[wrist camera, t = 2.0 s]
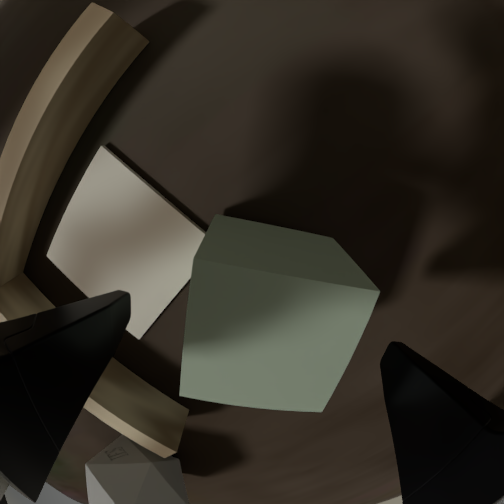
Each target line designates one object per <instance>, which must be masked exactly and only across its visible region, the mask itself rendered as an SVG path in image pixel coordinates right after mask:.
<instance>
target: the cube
mask: <svg viewBox="0 0 504 504" xmlns="http://www.w3.org/2000/svg"><path fill="white" fill-rule="evenodd" d="M379 294H380V290H379V289H378V288H377V287H376V286H375V285H374V283H373V282H372V281H371V280H370V279H369V278H368V277H367V275H366V274H365V273H364V272H363V271H362V270H361V269H360V267H359V266H358V265H357V264H356V263H355V262H354V261H353V260H352V258H351V257H350V256H349V255H348V254H347V253H346V252H345V251H344V250H343V248H342V247H341V246H340V245H339V244H338V243H337V242H336V241H335V240H334V239H333V238H331V237H326V236H322V235H317V234H313V233H308V232H303V231H298V230H294V229H289V228H284V227H279V226H274V225H269V224H264V223H259V222H254V221H249V220H244V219H239V218H233V217H228V216H223V215H217V214H215V216H214V218H213V220H212V222H211V224H210V226H209V228H208V230H207V232H206V234H205V236H204V238H203V240H202V242H201V244H200V246H199V248H198V250H197V252H196V254H195V256H194V258H193V265H192V273H191V280H190V288H189V296H188V305H187V314H186V323H185V333H184V343H183V354H182V366H181V379H180V393H179V396H183V397H188V398H193V399H198V400H204V401H210V402H216V403H222V404H229V405H236V406H244V407H253V408H262V409H273V410H286V411H305V412H322V411H323V409H324V408H325V406H326V404H327V402H328V401H329V399H330V397H331V395H332V393H333V392H334V390H335V388H336V386H337V384H338V382H339V380H340V379H341V377H342V375H343V373H344V371H345V369H346V367H347V365H348V363H349V361H350V359H351V357H352V355H353V353H354V351H355V349H356V347H357V344H358V342H359V340H360V338H361V336H362V334H363V331H364V329H365V327H366V325H367V322H368V320H369V318H370V315H371V313H372V311H373V308H374V306H375V304H376V301H377V299H378V296H379Z"/></svg>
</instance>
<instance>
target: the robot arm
mask: <svg viewBox="0 0 504 504" xmlns="http://www.w3.org/2000/svg"><path fill="white" fill-rule="evenodd" d="M130 318H131V295H130V293H129V292H126V291H122V290H116V291H113V292H109V293H105V294H102V295H98V296H95V297H91V298H88V299H84V300H81V301H77V302H74V303H70V304H67V305H63V306H60V307H56V308H53V309H49V310H46V311H42V312H39V313H37V314H36V313H35V314H32V315H28V316H24V317H21V318H17V319H13V320H8V321H4V322H0V504H7V501H6V498H5V495H4V493H5V491H6V490H7V487H8V486H9V485H10V486H11V487H13V488H14V489H15V490H17V491H18V492H20V493H21V494H23V495H24V496H25V497H27V498H28V499H30V500H31V501H33V502H36V501H37V499H38V497H39V494H40V492H41V490H42V488H43V485H44V483H45V481H46V479H47V477H48V475H49V473H50V471H51V469H52V466H53V464H54V462H55V460H56V458H57V456H58V454H59V452H60V450H61V448H62V446H63V444H64V442H65V440H66V438H67V436H68V434H69V432H70V431H71V429H72V427H73V425H74V423H75V421H76V419H77V418H78V416H79V414H80V412H81V410H82V408H83V407H84V405H85V403H86V401H87V399H88V398H89V396H90V394H91V392H92V391H93V389H94V387H95V385H96V384H97V382H98V380H99V379H100V377H101V375H102V374H103V372H104V370H105V368H106V367H107V365H108V363H109V362H110V360H111V358H112V357H113V355H114V353H115V351H116V349H117V347H118V345H119V342H120V340H121V338H122V336H123V334H124V331H125V329H126V327H127V325H128V323H129V321H130ZM380 368H381V375H382V383H383V391H384V398H385V404H386V409H387V413H388V418H389V422H390V427H391V432H392V437H393V443H394V448H395V454H396V459H397V465H398V472H399V479H400V486H401V493H402V500H403V504H504V410H503V409H501V408H499V407H498V406H496V405H494V404H493V403H491V402H489V401H488V400H486V399H485V398H483V397H482V396H480V395H479V394H477V393H476V392H474V391H473V390H471V389H470V388H468V387H467V386H465V385H464V384H462V383H461V382H459V381H458V380H456V379H455V378H454V377H452V376H451V375H449V374H448V373H446V372H445V371H443V370H442V369H440V368H439V367H437V366H436V365H434V364H433V363H431V362H430V361H429V360H427V359H426V358H424V357H423V356H421V355H420V354H418V353H417V352H415V351H414V350H412V349H411V348H409V347H408V346H406V345H405V344H403V343H402V342H395V341H392V342H391V343H390V344H389V345H388V347H387V349H386V351H385V353H384V355H383V357H382V359H381V362H380Z"/></svg>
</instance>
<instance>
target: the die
mask: <svg viewBox="0 0 504 504" xmlns="http://www.w3.org/2000/svg"><path fill="white" fill-rule="evenodd" d="M85 466H86V480H87V491H88V500H89V504H189V500H188V496H187V492H186V488H185V484H184V479H183V475H182V470H181V466H180V461H179V459H177V458H175V457H172V456H168V457H166V458H163V457H161V456H159V455H157V454H156V453H154V452H152V451H150V450H148V449H147V448H145V447H143V446H141V445H140V444H138V443H136V442H134V441H133V440H131V439H129V438H128V437H126V436H125V435H123V434H122V435H121V436H120V437H118V438H117V439H116V440H115V441H114V442H112V443H111V444H110V445H109V446H107V447H106V448H105V449H103V450H102V451H101V452H100V453H98V454H97V455H96V456H94V457H93V458H92V459H91V460H89V461H88V462H87V463H85Z"/></svg>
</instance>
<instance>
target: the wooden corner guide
mask: <svg viewBox="0 0 504 504" xmlns="http://www.w3.org/2000/svg"><path fill="white" fill-rule="evenodd" d="M148 43H149V41H148V40H147V39H146V38H145V37H144V36H142V35H141V34H140V33H139V32H138V31H136V30H135V29H134V28H133V27H131V26H130V25H129V24H128V23H126V22H125V21H124V20H123V19H121V18H120V17H119V16H118V15H116V14H115V13H114V12H112V11H110V10H107V9H105V8H103V7H101V6H99V5H97V4H95V3H91V4H90V5H89V6H88V7H87V8H86V10H85V11H84V12H83V13H82V14H81V16H80V17H79V18H78V19H77V21H76V22H75V23H74V24H73V26H72V27H71V28H70V30H69V31H68V32H67V34H66V35H65V36H64V38H63V39H62V41H61V42H60V43H59V45H58V46H57V48H56V49H55V51H54V52H53V54H52V55H51V57H50V58H49V60H48V61H47V63H46V65H45V66H44V68H43V69H42V71H41V73H40V74H39V76H38V78H37V80H36V81H35V83H34V85H33V87H32V88H31V90H30V92H29V94H28V96H27V98H26V100H25V102H24V104H23V106H22V108H21V110H20V112H19V114H18V116H17V118H16V121H15V123H14V125H13V127H12V130H11V132H10V134H9V137H8V139H7V142H6V144H5V147H4V149H3V152H2V155H1V158H0V322H4V321H8V320H13V319H17V318H21V317H24V316H28V315H32V314H35V313H36V314H37V313H39V312H42V311H46V310H49V309H53V308H56V307H55V306H54V305H53V304H52V303H51V302H50V301H49V300H48V299H47V298H46V297H45V296H44V295H43V294H42V293H41V292H40V290H39V289H38V288H37V287H36V286H35V285H34V284H33V283H32V282H31V281H30V280H29V278H28V277H27V276H26V275H25V274H24V273H23V271H24V267H25V264H26V261H27V257H28V254H29V251H30V248H31V245H32V242H33V239H34V236H35V234H36V231H37V228H38V225H39V223H40V220H41V218H42V215H43V213H44V210H45V208H46V205H47V203H48V201H49V198H50V196H51V194H52V192H53V189H54V187H55V185H56V183H57V181H58V179H59V177H60V175H61V173H62V171H63V169H64V167H65V165H66V163H67V161H68V159H69V157H70V155H71V153H72V151H73V150H74V148H75V146H76V144H77V142H78V141H79V139H80V137H81V136H82V134H83V132H84V130H85V129H86V127H87V126H88V124H89V122H90V121H91V119H92V117H93V116H94V114H95V113H96V111H97V110H98V108H99V107H100V105H101V104H102V102H103V101H104V99H105V98H106V96H107V95H108V94H109V92H110V91H111V89H112V88H113V87H114V85H115V84H116V82H117V81H118V80H119V78H120V77H121V76H122V75H123V73H124V72H125V71H126V69H127V68H128V67H129V66H130V64H131V63H132V62H133V61H134V59H135V58H136V57H137V56H138V55H139V53H140V52H141V51H142V50H143V49H144V48H145V46H146V45H147V44H148ZM205 234H206V232H205V231H204V230H203V229H202V228H200V227H199V226H198V225H197V224H196V223H195V222H193V221H192V220H191V219H190V218H189V217H187V216H186V215H185V214H184V213H183V212H181V211H180V210H179V209H178V208H177V207H176V206H174V205H173V204H172V203H171V202H170V201H168V200H167V199H166V198H165V197H164V196H163V195H161V194H160V193H159V192H158V191H157V190H156V189H154V188H153V187H152V186H151V185H150V184H149V183H147V182H146V181H145V180H144V179H143V178H142V177H140V176H139V175H138V174H137V173H136V172H135V171H133V170H132V169H131V168H130V167H129V166H128V165H126V164H125V163H124V162H123V161H122V160H121V159H120V158H118V157H117V156H116V155H115V154H114V153H113V152H111V151H110V150H109V149H108V148H107V147H106V146H101V147H100V148H99V150H98V152H97V153H96V155H95V157H94V158H93V160H92V162H91V163H90V165H89V167H88V169H87V170H86V172H85V174H84V176H83V178H82V179H81V181H80V183H79V185H78V187H77V189H76V191H75V193H74V195H73V197H72V199H71V201H70V203H69V205H68V207H67V209H66V211H65V213H64V215H63V218H62V220H61V222H60V224H59V226H58V229H57V231H56V233H55V236H54V238H53V241H52V243H51V245H50V248H49V251H48V253H47V257H48V258H49V259H50V260H51V261H52V262H53V263H54V264H55V265H56V266H57V267H58V268H59V269H60V270H61V271H62V272H63V273H64V274H65V275H66V276H67V277H68V278H69V279H70V280H71V281H72V282H73V283H74V284H75V285H76V286H77V287H78V288H79V289H80V290H81V291H82V292H83V293H84V294H85V295H87V296H88V297H89V298H91V297H95V296H98V295H102V294H105V293H109V292H113V291H116V290H122V291H126V292H129V293H130V295H131V318H130V321H129V323H128V325H127V327H126V330H127V331H128V332H130V333H131V334H132V335H133V336H135V337H136V338H137V339H140V338H141V337H142V336H143V334H144V333H145V332H146V331H147V329H148V328H149V327H150V326H151V325H152V323H153V322H154V321H155V320H156V319H157V317H158V316H159V315H160V314H161V312H162V311H163V310H164V309H165V308H166V306H167V305H168V304H169V303H170V302H171V300H172V299H173V298H174V297H175V296H176V295H177V293H178V292H179V291H180V290H181V289H182V287H183V286H184V285H185V284H186V283H187V281H188V280H189V279H190V278H191V273H192V265H193V258H194V256H195V254H196V252H197V250H198V248H199V246H200V244H201V242H202V240H203V238H204V236H205ZM84 408H85V409H87V410H88V411H89V412H91V413H92V414H93V415H95V416H96V417H98V418H99V419H100V420H102V421H103V422H105V423H106V424H108V425H109V426H111V427H112V428H114V429H115V430H117V431H118V432H120V433H121V434H123V435H125V436H126V437H128V438H129V439H131V440H133V441H134V442H136V443H138V444H140V445H141V446H143V447H145V448H147V449H148V450H150V451H152V452H154V453H156V454H157V455H159V456H161V457H163V458H166V457H168V456H170V455H172V454H174V453H176V452H177V450H178V447H179V443H180V440H181V436H182V433H183V429H184V426H185V422H186V419H187V416H188V412H189V409H187V408H185V407H184V406H182V405H180V404H179V403H177V402H176V401H174V400H172V399H171V398H169V397H168V396H166V395H165V394H163V393H162V392H160V391H159V390H157V389H156V388H154V387H153V386H151V385H150V384H148V383H147V382H145V381H144V380H142V379H141V378H140V377H138V376H137V375H136V374H134V373H133V372H131V371H130V370H129V369H127V368H126V367H125V366H123V365H122V364H121V363H119V362H118V361H117V360H116V359H114V358H113V357H112V358H111V360H110V362H109V363H108V365H107V367H106V368H105V370H104V372H103V374H102V375H101V377H100V379H99V380H98V382H97V384H96V385H95V387H94V389H93V391H92V392H91V394H90V396H89V398H88V399H87V401H86V403H85V405H84Z"/></svg>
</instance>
